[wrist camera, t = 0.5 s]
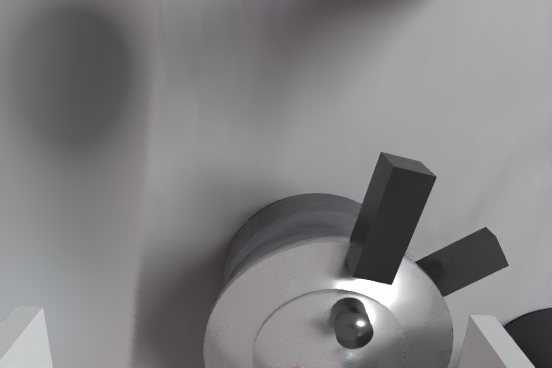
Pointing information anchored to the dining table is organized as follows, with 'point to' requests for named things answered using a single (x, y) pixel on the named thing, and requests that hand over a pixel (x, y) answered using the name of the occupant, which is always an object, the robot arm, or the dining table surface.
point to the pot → (340, 222)
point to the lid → (340, 293)
